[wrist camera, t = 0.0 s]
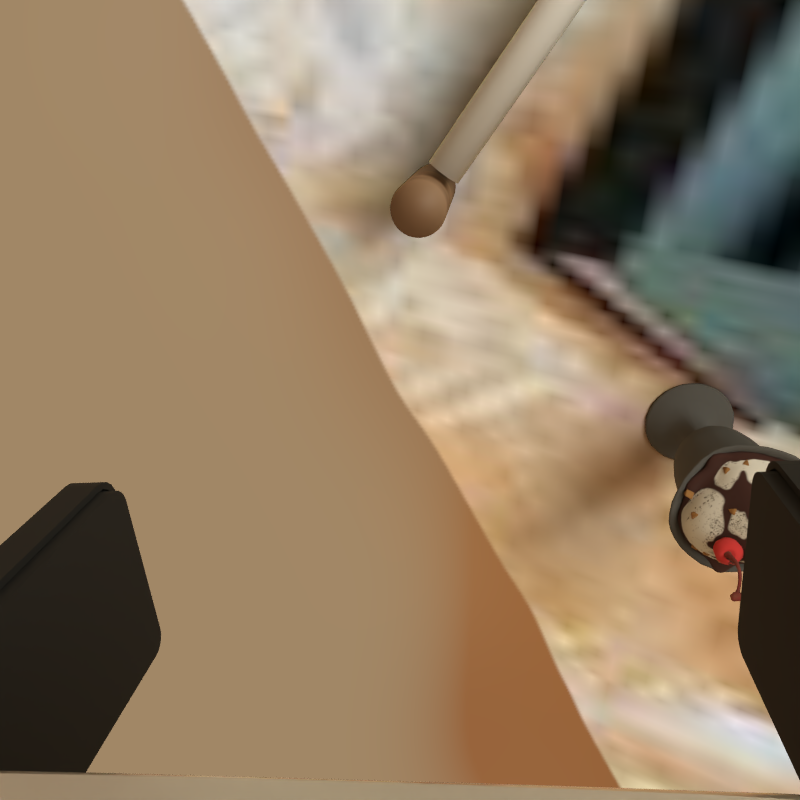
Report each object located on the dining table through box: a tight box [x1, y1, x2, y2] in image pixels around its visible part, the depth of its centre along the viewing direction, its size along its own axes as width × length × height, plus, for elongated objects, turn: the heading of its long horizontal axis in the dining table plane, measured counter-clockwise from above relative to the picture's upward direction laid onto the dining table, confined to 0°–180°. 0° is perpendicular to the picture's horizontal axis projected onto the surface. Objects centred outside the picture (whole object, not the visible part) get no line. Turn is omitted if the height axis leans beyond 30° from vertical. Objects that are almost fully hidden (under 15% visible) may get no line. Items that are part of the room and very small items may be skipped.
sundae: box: [646, 384, 800, 601], centre depth 35 cm, size 7×7×15 cm
